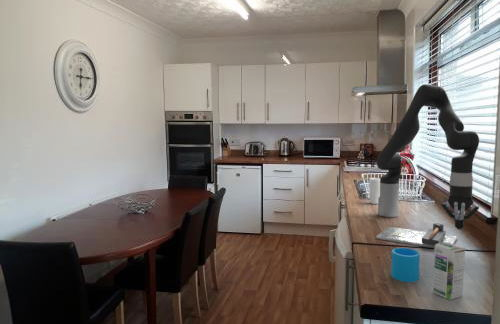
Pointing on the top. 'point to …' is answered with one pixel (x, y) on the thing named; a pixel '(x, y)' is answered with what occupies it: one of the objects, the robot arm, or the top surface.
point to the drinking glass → (374, 190)
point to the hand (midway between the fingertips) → (459, 228)
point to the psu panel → (409, 236)
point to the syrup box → (448, 270)
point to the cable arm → (434, 235)
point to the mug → (405, 264)
